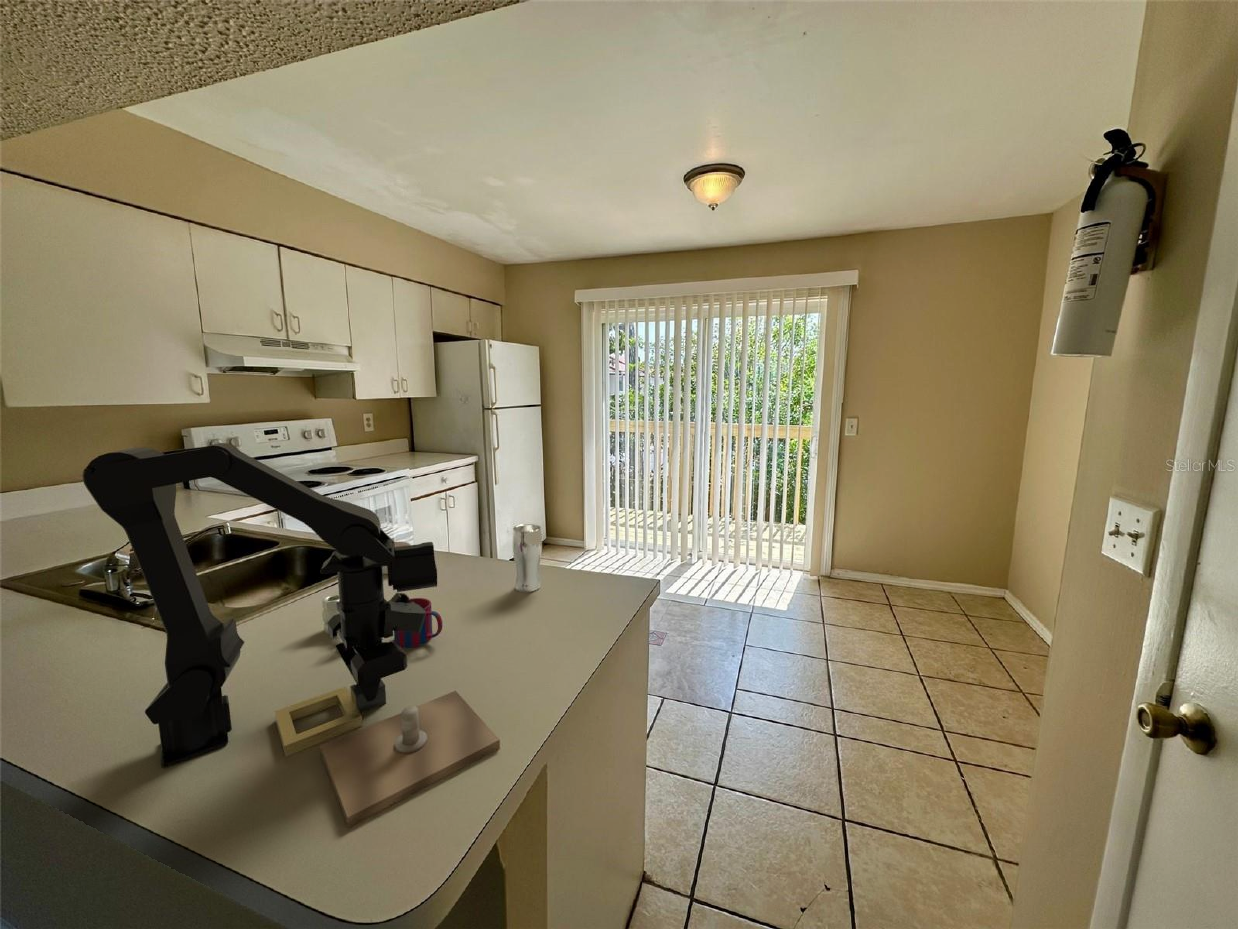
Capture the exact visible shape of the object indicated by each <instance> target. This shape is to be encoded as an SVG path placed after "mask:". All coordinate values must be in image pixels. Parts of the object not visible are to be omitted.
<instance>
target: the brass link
mask: <svg viewBox="0 0 1238 929" xmlns="http://www.w3.org/2000/svg"><path fill="white" fill-rule="evenodd" d="M349 689H350V691H349ZM349 689H348V688H347V686H343V687H340V688H338V689H335V690H332V691H328V692H326V693H324V694H320V695H317V696H315V697H312V698H309V699H305V700H303V701H301V702H297V703H294V704H292V705H289V706H286V707H283V708H280V709H277V710H275V711H274V717H275V718H274V720H275V723H276V727H277V732H278V735H279V738H280V742H281V746H282V750H283V753H284V756H285V757H288V756H290V755H291V756H292V755H294V754H296V753H298V752H300V751H301V752H302V751H303V750H306V749H308V748H310V747H312V746H315V745H318V744H320V743H323V742H325V741H328V740H330V739H333V738H335V737H338V736H340V735H342V734H344V733H348V732H350V731H352V730H355V729H357V728H360V727H362V726H363V715H362V714H363V713H365V712H367V711H371V710H373V709H375V708H378V707H380V706H383V705H386V704H387V695H386V694H387V693H386V684H385V683H384V681H383V680H382V679H381V681H380V684H379V688H378V692H377V696H376V699H375V700H372V701H369V702H368V701H367V700H366V698H365V696H364V695H363V693H362V691H361V690H360V688H359V687H358V685H357V683H356V684H353V685H351V686H350V687H349ZM336 705H338V707H339V710H340V711H341V714H342V715H343V716H341V717H338V718H336V719H333V720H330V721H327V722H326V723H323V724H321V725H318V726H315V727H312V728H309V729H307V730H305V731H302V732H300V733H297V732H296V729H295V726H294V723H293V721H295V720H298V719H301V718H304V717H306V716H310V715H312V714H315V713H317V712H321V711H322V710H326V709H329V708H330V707H331V708H332V707H334V706H336Z"/></svg>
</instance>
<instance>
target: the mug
mask: <svg viewBox="0 0 1238 929" xmlns="http://www.w3.org/2000/svg"><path fill="white" fill-rule="evenodd" d="M409 601H410V603H411V602H414V603H415V604H418V605H420V606H421V607H422V608H423V609H424V610H425V611H426V615H425V619H424V622H423V625H422V628H421V632H420V633H413V632H405V631H393V640H394V641H393V642H394V643H396V644H398V645H399V646H400V647H401V648H402V649H404V647H405V648H407V649H409V648H415V647H416V648H417V647H419V646H420V647H421V646H423V645H424V644H427V643H428V642H430V641H431V640H432V639H433V638H436V637H437V636H439V634H441V633H442V630H443V619H442V616H441V615H440V614H439V613H438V612H437V611H433V610H432V602H431V600H430V599H427V598H423V597H413V598H409ZM433 616H434V618H435V619H436V622H437V631H436V633H433Z"/></svg>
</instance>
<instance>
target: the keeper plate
mask: <svg viewBox="0 0 1238 929" xmlns="http://www.w3.org/2000/svg"><path fill="white" fill-rule="evenodd" d="M500 748H501V740H500V738H499V737H498V736H497V735H496V734H495V733H494V731H493V730H492V729H491V728H490V727H489V726H488V725H487V723H486V722H485V721H484V720H482V718H481V717H480V716H479V715H478V714H477V713H476V712H475V710H474V709H473V708H472V707H471V706H470V705H469V703H467V701H466V700H465V699H464V698H463V697H462V696H461V695H460V694H459V693H458V691H456V690H454V691H451V692H449V693H447V694H443V695H442V696H441V695H440V696H439V697H437V698H434V699H431V700H429V701H427V702H425V703H421V704H420V705H417V706H414V705H413V706H408V707H405V708H404V709H402V710H401V712H400V713H397V714H395V715H393V716H390V717H388V718H386V719H383V720H380V721H378V722H376V723H373V724H371V725H368V726H366V727H364V728H360V729H359V730H356V731H354V732H351V733H348V734H346V735H343V736H341V737H339V738H337V739H334V740H332V741H329V742H327V743H324V744H322V745H320V755H321V758H322V760H323V763H324V766H325V769H326V771H327V774H328V776H329V779H330V782H331V786H332V788H333V790H334V792H335V795H336V798H337V801H338V803H339V806H340V809H341V811H342V813H343V817H344V819H345V823H346V825H347V827H348V828H349V827H351V826H354V825H355V824H357V823H358V824H359V822H361V821H363V820H365V819H366V818H369V817H371V816H373V815H375V814H376V813H379V812H380V811H382V810H384V809H385V808H388V807H390V806H391V804H392V805H393V803H394V802H396V803H397V801H398V802H399V801H401V800H403V799H406V798H407V797H409V796H411V795H412V794H415V793H416V791H417V792H418V791H420V790H422V789H424V788H426V787H428V786H430V785H432V784H434V783H436V782H437V781H438V782H439V780H441V779H443V778H445V777H448V776H449V775H451V774H453V773H454V772H457V771H458V770H461V769H462V768H465V767H466V766H468V765H470V764H472V763H473V762H476V761H477V760H479V759H481V758H484V757H485V756H487V755H489V754H491V753H492V752H495V751H497V750H498V749H500ZM394 804H395V803H394ZM389 805H390V806H389ZM387 806H388V807H387ZM383 808H384V809H383ZM381 809H382V810H381ZM374 813H375V814H374Z"/></svg>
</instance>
